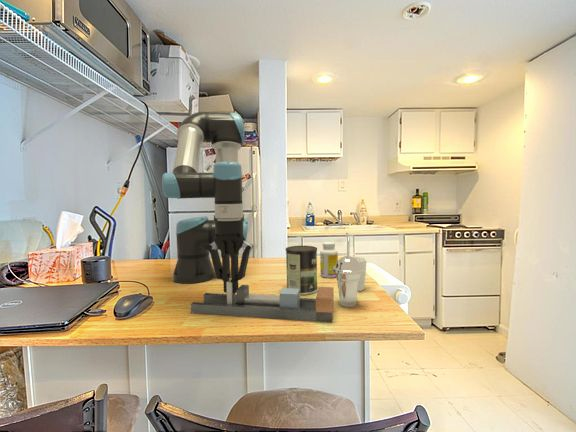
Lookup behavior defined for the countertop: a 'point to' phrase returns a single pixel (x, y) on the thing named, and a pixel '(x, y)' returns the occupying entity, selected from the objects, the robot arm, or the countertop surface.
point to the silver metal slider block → (256, 298)
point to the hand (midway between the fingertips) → (231, 303)
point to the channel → (271, 308)
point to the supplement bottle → (328, 260)
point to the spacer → (290, 298)
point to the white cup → (362, 275)
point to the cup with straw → (347, 277)
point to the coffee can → (302, 268)
